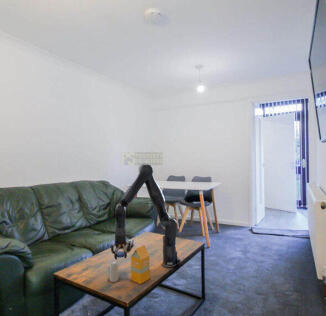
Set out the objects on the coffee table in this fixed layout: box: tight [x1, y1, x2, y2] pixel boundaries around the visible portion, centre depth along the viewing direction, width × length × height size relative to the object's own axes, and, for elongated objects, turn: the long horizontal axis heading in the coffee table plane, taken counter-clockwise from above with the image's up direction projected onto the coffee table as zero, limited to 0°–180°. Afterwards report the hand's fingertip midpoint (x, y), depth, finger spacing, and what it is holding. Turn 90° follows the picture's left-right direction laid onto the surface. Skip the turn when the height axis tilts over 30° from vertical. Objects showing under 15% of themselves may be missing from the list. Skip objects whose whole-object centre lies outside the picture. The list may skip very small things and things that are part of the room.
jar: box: [109, 260, 119, 283], centre depth 151 cm, size 5×5×11 cm
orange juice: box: [130, 244, 150, 285], centre depth 152 cm, size 8×9×20 cm
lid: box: [117, 250, 125, 259], centre depth 166 cm, size 6×6×2 cm
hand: (120, 258), depth 165 cm, fingers closed on lid, 5 cm apart
